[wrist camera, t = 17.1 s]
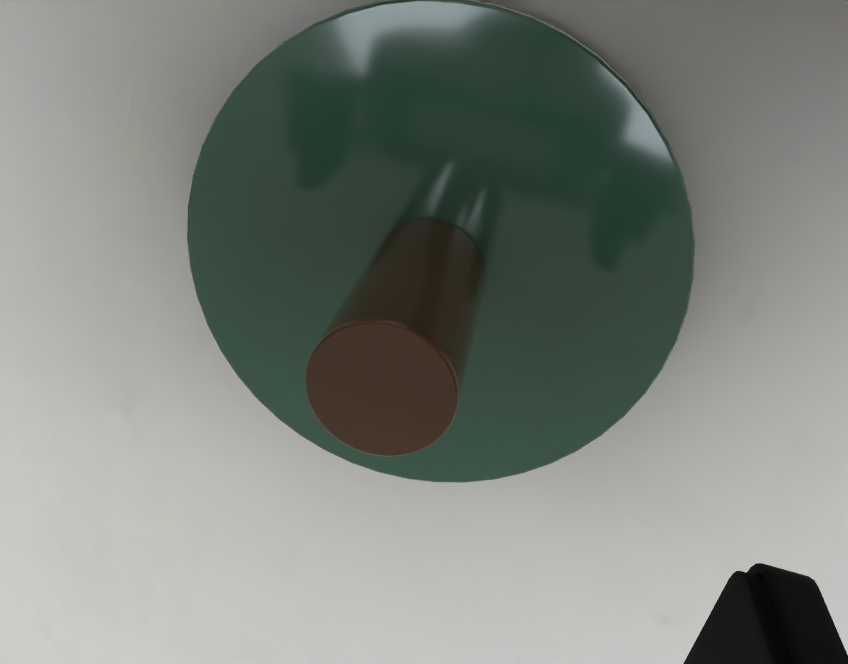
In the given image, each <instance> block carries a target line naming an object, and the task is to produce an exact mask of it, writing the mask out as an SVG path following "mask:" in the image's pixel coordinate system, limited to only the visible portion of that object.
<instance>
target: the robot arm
mask: <svg viewBox="0 0 848 664" xmlns="http://www.w3.org/2000/svg"><path fill="white" fill-rule="evenodd" d="M684 664H848V655H847V653H846V651H845V648H844V646H843V644H842V641H841V639H840V637H839V634H838V632H837V630H836V627H835V625H834V623H833V620H832V618H831V616H830V613H829V611H828V609H827V606H826V604H825V602H824V599H823V597H822V594H821V592H820V590H819V587H818V586H817V584H816V583H815V581H814V580H813V579H811V578H810V577H808V576H805V575H801V574H798V573H794V572H790V571H787V570H783V569H780V568H776V567H773V566H769V565H766V564H762V563H759V564H755V565H754V566H752V567H751V568H750V569H749V571H748V572H747V573H746V572H742V571H736V572H735V573H733V574H732V576H731V577H730V579H729V580H728V582H727V584H726V586H725V587H724V589H723V591H722V593H721V595H720V597H719V599H718V600H717V602H716V604H715V606H714V608H713V610H712V612H711V613H710V615H709V617H708V619H707V621H706V623H705V625H704V626H703V628H702V630H701V632H700V634H699V636H698V638H697V639H696V641H695V643H694V645H693V647H692V649H691V651H690V653H689V654H688V656H687V658H686V660H685V662H684Z"/></svg>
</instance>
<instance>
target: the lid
mask: <svg viewBox="0 0 848 664" xmlns="http://www.w3.org/2000/svg"><path fill="white" fill-rule="evenodd" d="M187 240H188V249H189V258H190V268H191V272H192V276H193V281H194V285H195V289H196V293H197V297H198V300H199V303H200V305H201V308H202V311H203V313H204V316H205V319H206V322H207V324H208V326H209V328H210V330H211V332H212V334H213V336H214V338H215V340H216V342H217V344H218V346H219V348H220V350H221V352H222V353H223V355H224V356H225V358H226V359H227V361H228V362H229V364H230V365H231V367H232V368H233V370H234V371H235V372H236V374H237V375H238V377H239V378H240V379H241V380H242V381H243V383H244V384H245V385H246V386H247V387H248V389H249V390H250V391H251V392H252V393H253V394H254V396H255V397H256V398H257V399H258V400H259V401H260V402H261V403H262V404H263V405H264V406H266V407H267V408H268V409H269V410H270V411H271V412H272V413H273V414H274V415H275V416H276V417H277V418H278V419H280V420H281V421H282V422H284V423H285V424H286V425H288V426H289V427H290V428H292V429H293V430H294V431H295V432H297V433H298V434H299V435H301V436H302V437H304V438H306V439H307V440H309V441H311V442H312V443H314V444H316V445H317V446H319V447H321V448H322V449H324V450H326V451H328V452H330V453H332V454H334V455H336V456H338V457H341V458H343V459H345V460H347V461H349V462H351V463H354V464H357V465H360V466H363V467H366V468H369V469H371V470H374V471H377V472H381V473H385V474H389V475H394V476H398V477H403V478H407V479H415V480H423V481H432V482H473V481H483V480H493V479H498V478H503V477H507V476H512V475H517V474H521V473H525V472H528V471H530V470H533V469H536V468H539V467H542V466H545V465H548V464H551V463H553V462H555V461H557V460H559V459H561V458H563V457H565V456H567V455H569V454H571V453H574V452H576V451H577V450H579V449H581V448H582V447H584V446H585V445H587V444H588V443H590V442H591V441H593V440H595V439H596V438H598V437H599V436H601V435H602V434H603V433H604V432H606V431H607V430H608V429H609V428H610V427H612V426H613V425H614V424H615V423H616V422H618V421H619V420H620V419H621V418H622V417H624V416H625V415H626V413H627V412H628V411H629V410H630V409H631V408H632V407H633V406H634V405H635V404H636V403H637V401H638V400H639V399H640V398H641V397H642V396H643V395H644V394H645V393H646V391H647V390H648V388H649V387H650V385H651V384H652V383H653V381H654V380H655V378H656V377H657V375H658V374H659V373H660V371H661V370H662V368H663V366H664V364H665V363H666V361H667V359H668V357H669V355H670V353H671V351H672V349H673V347H674V345H675V343H676V341H677V338H678V336H679V333H680V330H681V327H682V324H683V321H684V318H685V315H686V312H687V309H688V304H689V298H690V293H691V288H692V283H693V274H694V252H695V242H694V232H693V222H692V212H691V208H690V204H689V200H688V196H687V192H686V188H685V184H684V180H683V176H682V174H681V171H680V169H679V167H678V164H677V162H676V159H675V157H674V154H673V152H672V150H671V147H670V145H669V143H668V141H667V139H666V138H665V136H664V134H663V133H662V131H661V129H660V128H659V126H658V124H657V123H656V121H655V119H654V118H653V116H652V114H651V112H650V111H649V109H648V108H647V106H646V105H645V104H644V103H643V101H642V100H641V99H640V98H639V96H638V95H637V94H636V93H635V91H634V90H633V89H632V88H631V87H630V85H629V84H628V83H627V82H626V80H625V79H624V78H623V77H622V76H620V75H619V74H618V73H617V72H616V71H615V70H614V69H613V68H612V67H611V66H610V65H609V64H608V63H606V62H605V61H604V60H603V59H602V58H601V57H600V56H599V55H598V54H596V53H595V52H594V51H592V50H591V49H589V48H588V47H586V46H585V45H584V44H582V43H581V42H579V41H578V40H576V39H575V38H573V37H572V36H571V35H569V34H568V33H566V32H564V31H562V30H560V29H558V28H556V27H554V26H552V25H550V24H548V23H546V22H544V21H542V20H540V19H538V18H536V17H534V16H531V15H528V14H525V13H522V12H519V11H516V10H514V9H511V8H508V7H505V6H502V5H499V4H494V3H488V2H483V1H478V0H385V1H380V2H377V3H373V4H369V5H365V6H361V7H357V8H353V9H349V10H346V11H343V12H341V13H339V14H336V15H334V16H331V17H329V18H327V19H324V20H322V21H320V22H317V23H315V24H313V25H311V26H309V27H308V28H306V29H304V30H303V31H301V32H299V33H298V34H296V35H294V36H293V37H291V38H290V39H288V40H286V41H285V42H283V43H282V44H281V45H279V46H278V47H277V48H276V49H275V50H273V51H272V52H271V53H270V54H268V55H267V56H266V57H265V58H264V59H262V60H261V61H260V62H259V63H258V64H256V66H255V67H254V68H253V69H252V70H251V71H250V72H249V73H248V74H247V76H246V77H245V78H244V79H243V80H242V81H241V82H240V83H239V85H238V86H237V87H236V88H235V89H234V90H233V92H232V93H231V95H230V96H229V98H228V99H227V101H226V102H225V104H224V105H223V107H222V108H221V110H220V111H219V113H218V114H217V116H216V118H215V120H214V122H213V124H212V126H211V129H210V131H209V133H208V135H207V137H206V139H205V141H204V143H203V145H202V149H201V152H200V155H199V158H198V162H197V165H196V168H195V171H194V175H193V180H192V186H191V192H190V198H189V204H188V231H187Z"/></svg>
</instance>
